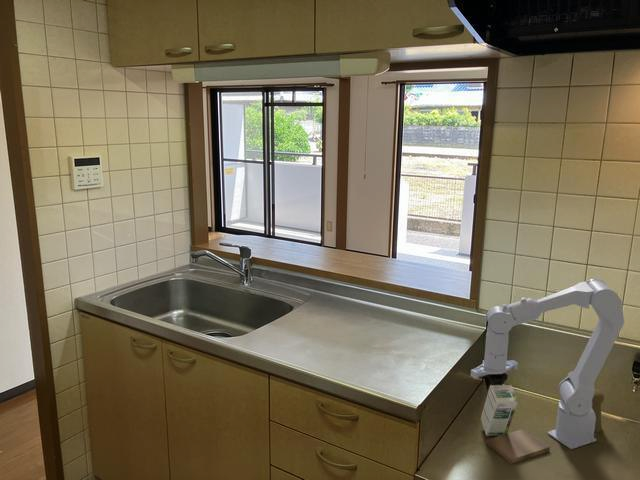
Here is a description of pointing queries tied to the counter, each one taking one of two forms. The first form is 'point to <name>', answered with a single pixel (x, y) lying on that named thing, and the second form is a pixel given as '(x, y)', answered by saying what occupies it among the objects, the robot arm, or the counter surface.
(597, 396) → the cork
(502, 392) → the syrup box
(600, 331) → the robot arm
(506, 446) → the walnut board
